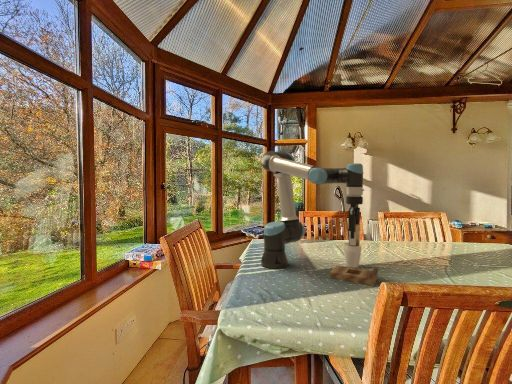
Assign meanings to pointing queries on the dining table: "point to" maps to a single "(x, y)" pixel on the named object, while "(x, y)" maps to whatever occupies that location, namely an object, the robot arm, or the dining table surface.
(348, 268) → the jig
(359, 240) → the golden brass cylinder
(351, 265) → the cup
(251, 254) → the dining table surface
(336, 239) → the dining table surface
